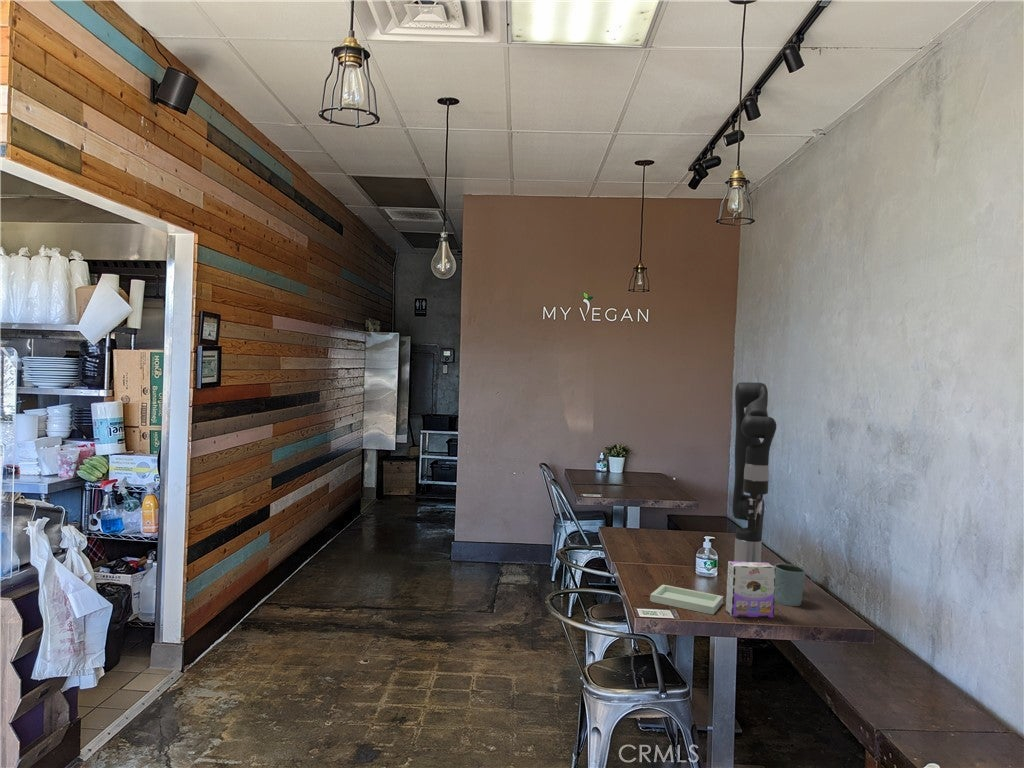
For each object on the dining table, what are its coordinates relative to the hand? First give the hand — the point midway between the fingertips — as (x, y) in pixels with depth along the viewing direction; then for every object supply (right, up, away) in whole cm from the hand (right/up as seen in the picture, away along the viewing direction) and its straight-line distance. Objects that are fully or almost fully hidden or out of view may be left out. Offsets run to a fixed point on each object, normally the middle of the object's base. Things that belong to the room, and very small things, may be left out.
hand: (753, 528), depth 217 cm
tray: (-19, -27, +9) cm, 34 cm away
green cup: (+17, -29, +15) cm, 37 cm away
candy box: (-1, -28, 0) cm, 28 cm away
